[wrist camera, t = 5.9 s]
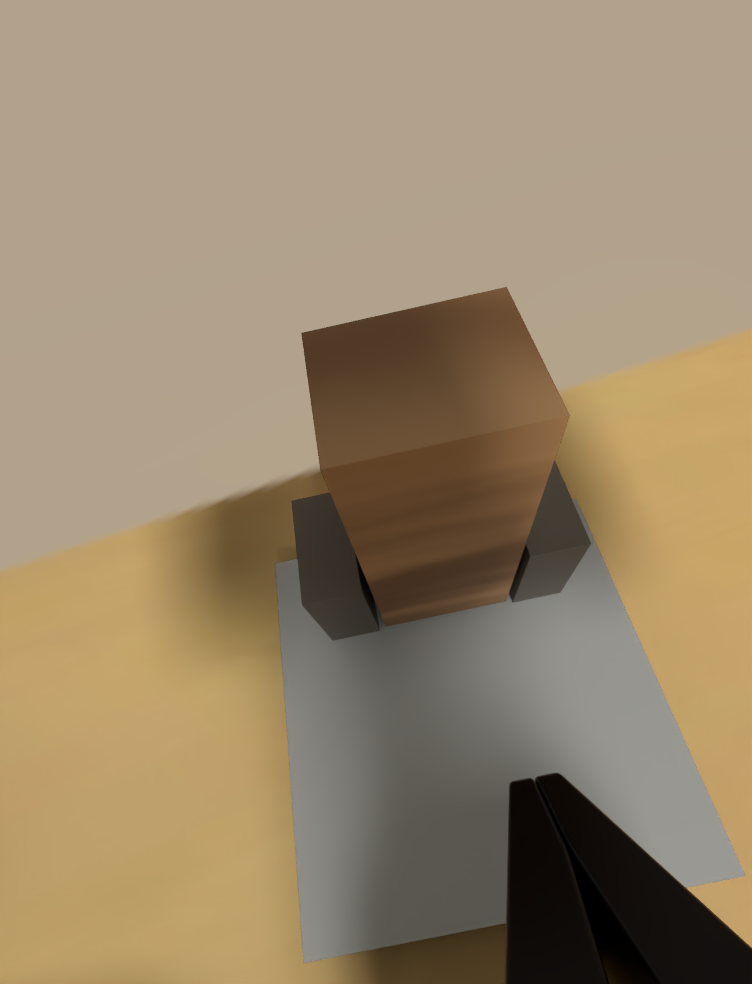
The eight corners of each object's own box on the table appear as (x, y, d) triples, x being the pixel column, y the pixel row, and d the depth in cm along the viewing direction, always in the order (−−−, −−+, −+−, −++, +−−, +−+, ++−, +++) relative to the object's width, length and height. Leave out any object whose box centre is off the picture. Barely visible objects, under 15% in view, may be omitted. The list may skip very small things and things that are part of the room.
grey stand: (729, 870, 16) (864, 916, 11) (311, 953, 16) (247, 1037, 11) (571, 509, 23) (607, 432, 18) (281, 571, 23) (233, 513, 18)
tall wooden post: (506, 601, 20) (569, 415, 10) (386, 626, 20) (320, 469, 10) (478, 516, 22) (506, 287, 12) (369, 539, 22) (301, 333, 12)
